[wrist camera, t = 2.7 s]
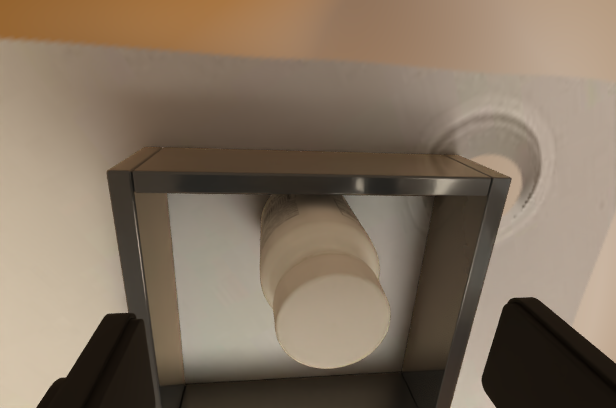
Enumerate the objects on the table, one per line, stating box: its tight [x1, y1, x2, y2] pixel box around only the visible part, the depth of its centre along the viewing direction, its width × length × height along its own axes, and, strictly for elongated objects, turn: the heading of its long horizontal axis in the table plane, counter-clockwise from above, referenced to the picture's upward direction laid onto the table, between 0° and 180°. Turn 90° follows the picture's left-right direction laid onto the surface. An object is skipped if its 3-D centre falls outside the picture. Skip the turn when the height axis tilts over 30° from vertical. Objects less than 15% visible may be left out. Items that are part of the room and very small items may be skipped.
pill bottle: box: [260, 194, 391, 369], centre depth 14 cm, size 4×4×8 cm
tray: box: [107, 147, 511, 408], centre depth 17 cm, size 15×15×4 cm
